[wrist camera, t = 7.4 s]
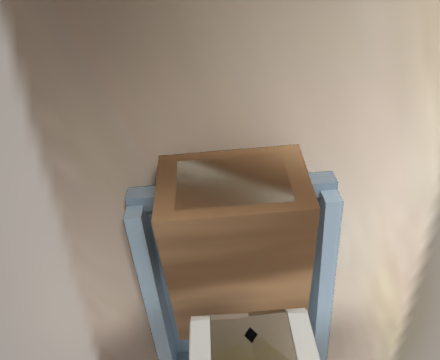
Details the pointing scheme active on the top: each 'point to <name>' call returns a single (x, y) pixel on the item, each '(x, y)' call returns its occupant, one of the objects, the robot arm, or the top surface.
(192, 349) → the robot arm
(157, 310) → the tray
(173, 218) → the wooden block
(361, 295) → the top surface
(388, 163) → the top surface
